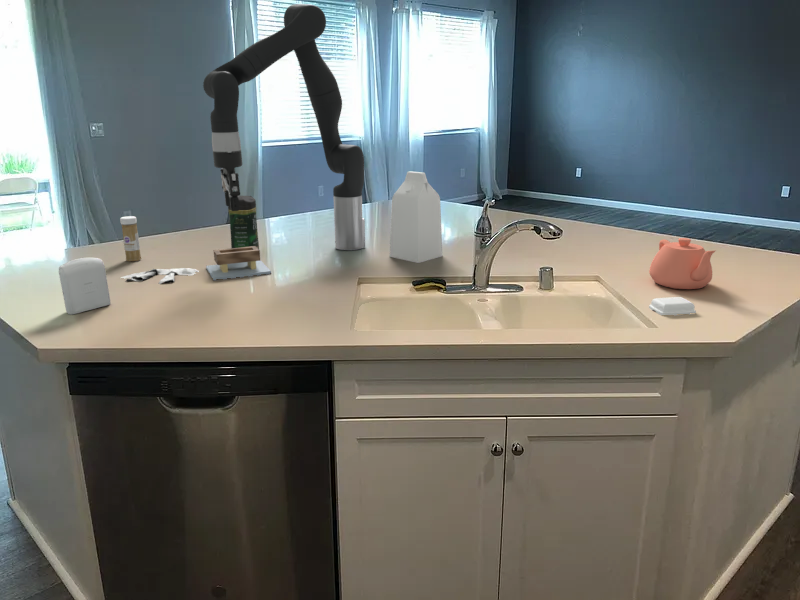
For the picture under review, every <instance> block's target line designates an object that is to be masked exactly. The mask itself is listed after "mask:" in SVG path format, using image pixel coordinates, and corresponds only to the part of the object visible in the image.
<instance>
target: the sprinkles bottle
mask: <svg viewBox="0 0 800 600" xmlns="http://www.w3.org/2000/svg"><path fill="white" fill-rule="evenodd" d="M137 220H138V219H137V217H136V216H133V215H129V216H128V215H127V216H122V217H120V218H119V221H120V224H121V230H122V236H123V237H122V238H123V247H124V252H125V261H126V262H132V263H133V262H138V261H140V260H142V256H141V246H140V240H139V238H140V237H139V232H138V225H137V222H138V221H137Z"/></svg>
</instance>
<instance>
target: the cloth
mask: <svg viewBox="0 0 800 600" xmlns="http://www.w3.org/2000/svg"><path fill="white" fill-rule="evenodd" d="M199 271H200V270H198V269H196V268H191V267H190V268H189V267H187V268H186V267H180V268H169V269H168V268H165V269H164V268H152V269H150V270H146V271H141V272H135V273H131V274H128V275H124V276H121V277H119V278H120V279H121V278H124V279H126V280H125V281H124V282H126V281H127V282H130V281H134V282H143V281H146V280H148V279H150V278H151V277H155V276H156V275H162V276H163V275H164V276H163V278H161V279H160V280H159V281H158V284H159V285H162V284H163V283H165V284H169V283H172V284H173V283H174V284H175V282H176V281H175V278H176V277H175V276H176V274H177V275H178V276H187V275H188V276H195V275H197V273H200V272H199ZM195 272H196V273H195ZM194 274H195V275H194Z"/></svg>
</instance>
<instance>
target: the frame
mask: <svg viewBox="0 0 800 600" xmlns="http://www.w3.org/2000/svg"><path fill="white" fill-rule="evenodd" d="M213 257H214V258H213V261H214V262H215V263H216V265H223V264H232V263H242V262H251V261H260V260H261V250H260V248H259V249H258V248H257V247H256V246H250V247H240V248H231V247H230V248H221V249H220V248H219V249H213Z"/></svg>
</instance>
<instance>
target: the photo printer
mask: <svg viewBox="0 0 800 600" xmlns="http://www.w3.org/2000/svg"><path fill="white" fill-rule="evenodd" d="M105 267H106V266H105V264H104V260H102V258H98V257H92V256H91V257H80V258H75V259H72V260H69V261H67V262H65V263H63V264H62V265H60V266H59V267H58V275H59V282H60V286H61V291H62V292H61V293H62V296H63V301H64V306H65V311H66V314H67V313H68V314H67V315H76V314H80V313H82V312H83V313H84V312H86V311H87V312H88V311H90V310H91V311H92V310H94V309H97V308H102V307H106V306H110V305H111V297H110V290H109V284H108V279H107V271H106V268H105Z"/></svg>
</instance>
